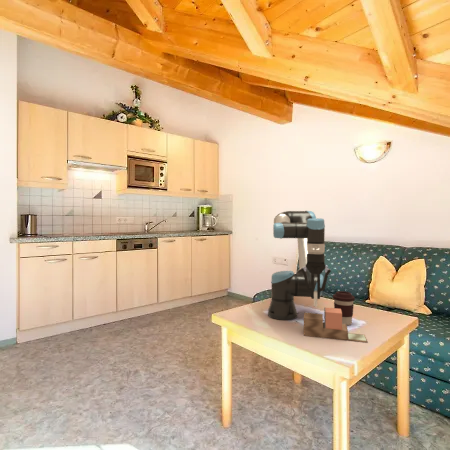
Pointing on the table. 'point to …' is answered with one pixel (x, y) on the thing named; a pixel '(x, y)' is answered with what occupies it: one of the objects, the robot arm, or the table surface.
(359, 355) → the table surface
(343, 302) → the coffee cup
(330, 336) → the stair
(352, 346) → the table surface
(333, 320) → the block
